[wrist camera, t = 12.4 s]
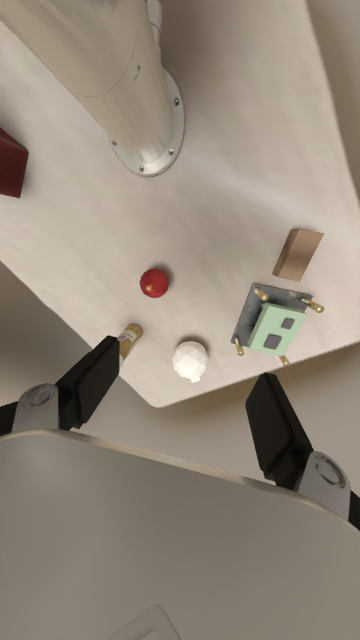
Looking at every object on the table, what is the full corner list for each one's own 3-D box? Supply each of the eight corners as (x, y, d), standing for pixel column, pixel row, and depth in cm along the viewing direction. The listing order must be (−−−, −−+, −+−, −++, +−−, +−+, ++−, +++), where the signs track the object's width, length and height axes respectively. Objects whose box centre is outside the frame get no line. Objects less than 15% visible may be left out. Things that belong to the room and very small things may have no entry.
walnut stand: (291, 229, 30) (299, 228, 27) (313, 234, 30) (324, 233, 27) (272, 274, 34) (277, 277, 31) (292, 278, 33) (299, 281, 31)
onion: (155, 296, 39) (144, 309, 32) (141, 274, 38) (126, 283, 30) (176, 284, 37) (169, 295, 30) (162, 261, 36) (151, 266, 28)
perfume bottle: (166, 339, 42) (176, 371, 48) (171, 364, 34) (183, 398, 40) (198, 329, 42) (205, 362, 48) (211, 352, 35) (217, 388, 41)
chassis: (252, 283, 35) (261, 290, 29) (310, 295, 34) (330, 305, 29) (230, 341, 42) (234, 356, 36) (278, 352, 41) (289, 368, 36)
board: (265, 302, 32) (270, 307, 30) (301, 310, 32) (309, 315, 30) (247, 343, 37) (250, 350, 35) (278, 350, 37) (283, 358, 34)
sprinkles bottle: (138, 321, 43) (112, 353, 31) (145, 336, 45) (123, 371, 33) (123, 325, 44) (93, 356, 32) (130, 339, 46) (103, 374, 34)
